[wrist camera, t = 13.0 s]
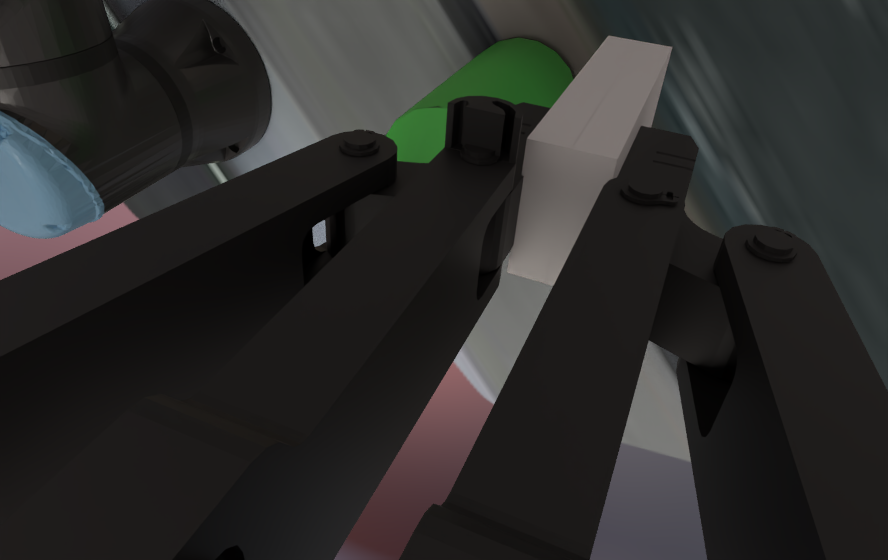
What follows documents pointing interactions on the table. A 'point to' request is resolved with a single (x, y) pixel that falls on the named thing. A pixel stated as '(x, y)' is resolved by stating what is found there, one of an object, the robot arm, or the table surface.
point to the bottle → (482, 92)
